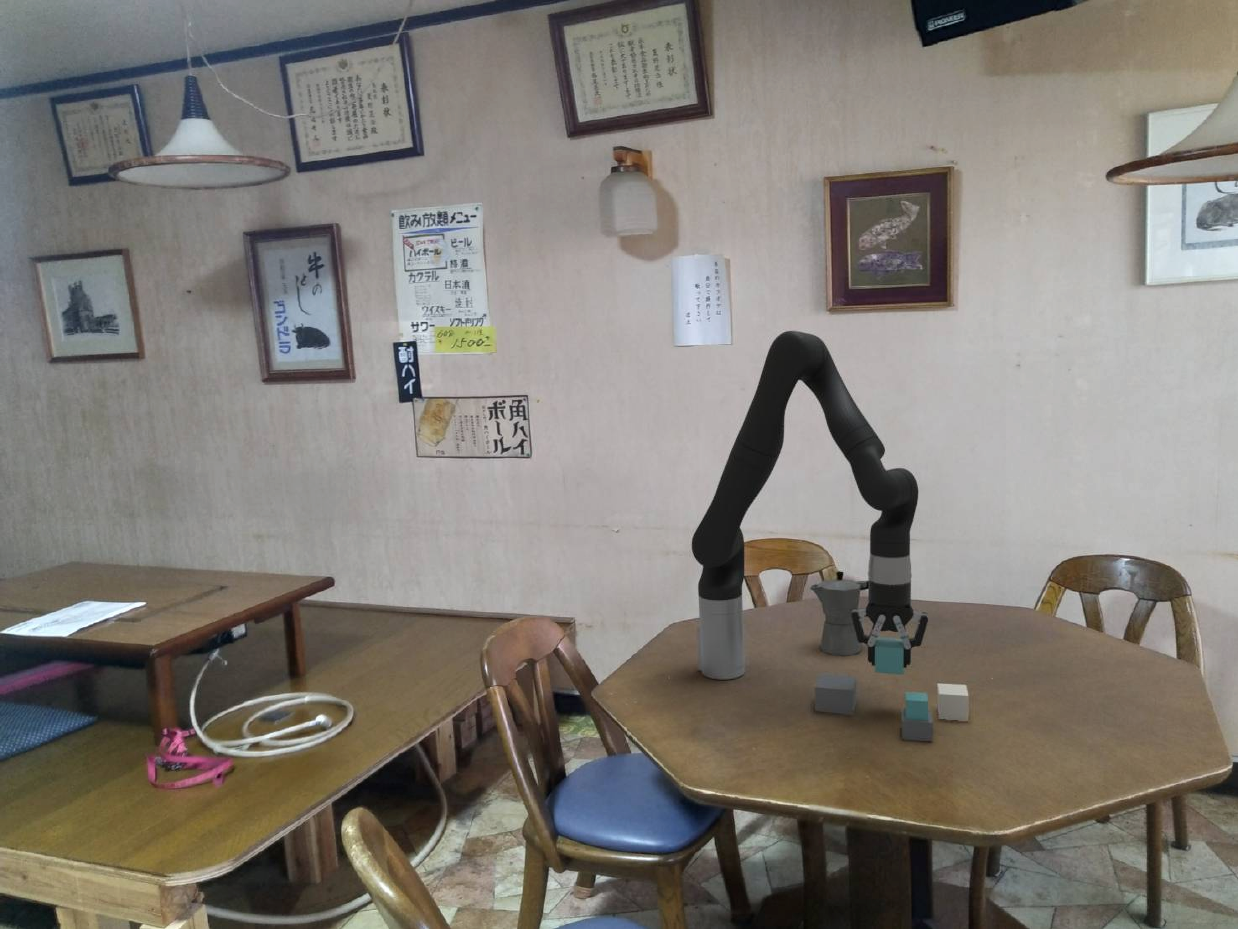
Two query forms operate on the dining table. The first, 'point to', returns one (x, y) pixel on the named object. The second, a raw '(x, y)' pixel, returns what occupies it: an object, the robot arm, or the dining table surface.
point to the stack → (917, 718)
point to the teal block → (889, 656)
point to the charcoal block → (836, 694)
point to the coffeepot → (839, 614)
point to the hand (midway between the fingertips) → (888, 664)
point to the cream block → (953, 702)
